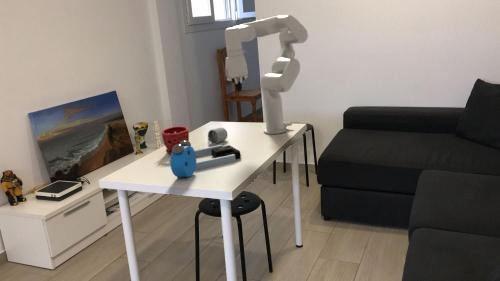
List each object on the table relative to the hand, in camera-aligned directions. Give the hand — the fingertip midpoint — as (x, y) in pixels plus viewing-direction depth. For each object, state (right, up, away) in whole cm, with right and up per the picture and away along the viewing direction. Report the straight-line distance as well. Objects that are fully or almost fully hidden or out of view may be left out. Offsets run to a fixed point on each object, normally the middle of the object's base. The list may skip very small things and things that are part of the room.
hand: (238, 91), depth 223 cm
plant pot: (-31, -31, +4) cm, 44 cm away
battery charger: (-6, -33, -12) cm, 35 cm away
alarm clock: (-22, -40, -31) cm, 55 cm away
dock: (-12, -33, -12) cm, 38 cm away
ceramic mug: (-12, -25, +16) cm, 32 cm away
